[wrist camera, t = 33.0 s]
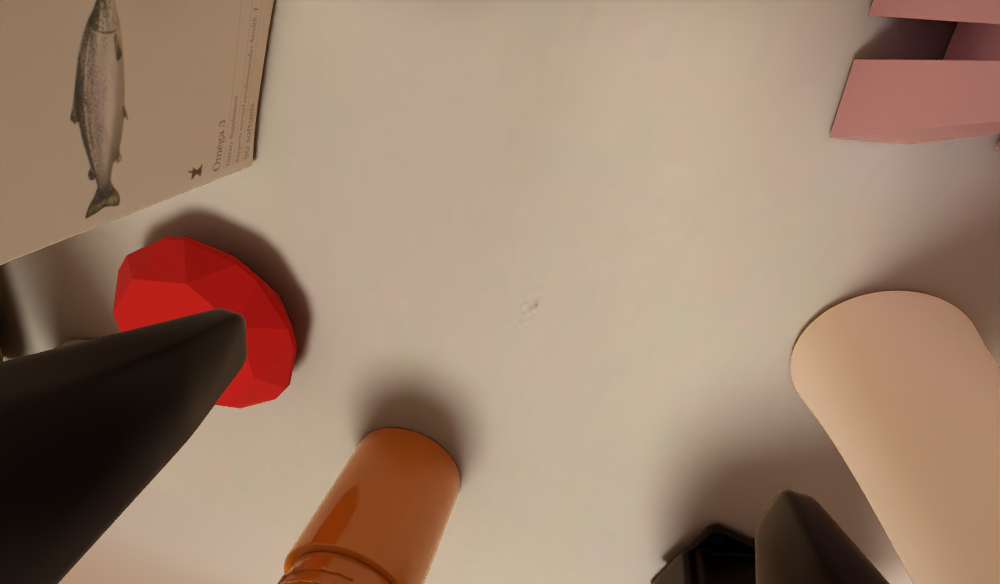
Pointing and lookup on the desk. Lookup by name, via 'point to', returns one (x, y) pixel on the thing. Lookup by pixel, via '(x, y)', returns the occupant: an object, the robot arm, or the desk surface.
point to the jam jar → (379, 515)
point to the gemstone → (210, 308)
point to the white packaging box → (120, 107)
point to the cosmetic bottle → (913, 425)
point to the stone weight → (0, 357)
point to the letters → (928, 80)
